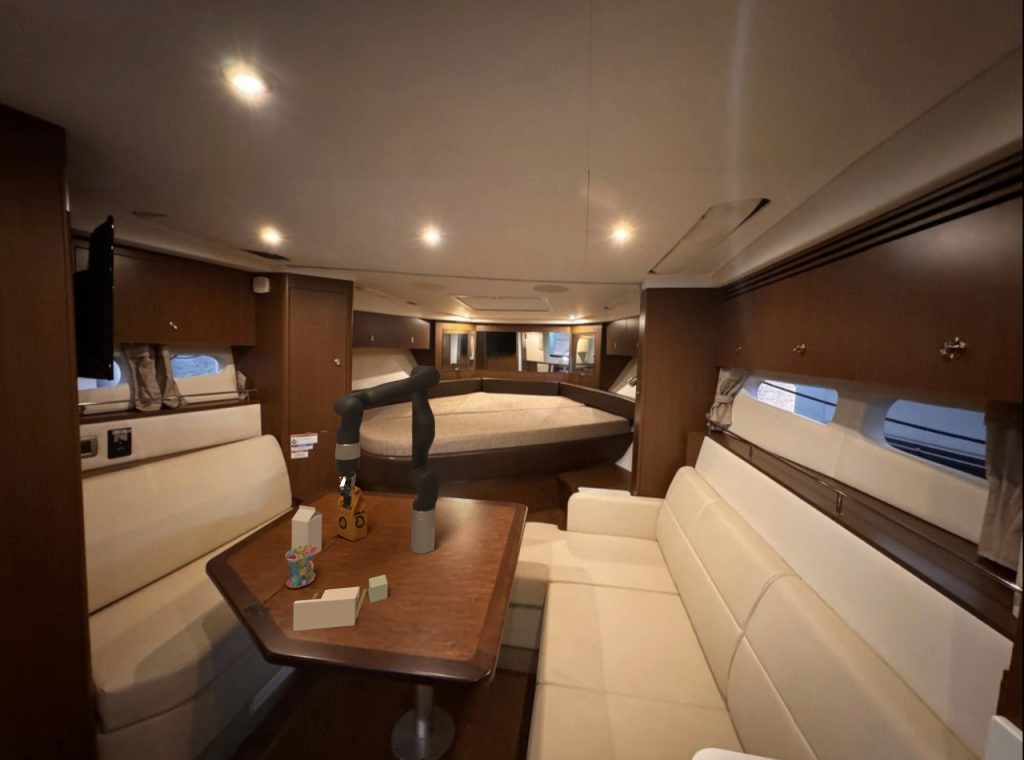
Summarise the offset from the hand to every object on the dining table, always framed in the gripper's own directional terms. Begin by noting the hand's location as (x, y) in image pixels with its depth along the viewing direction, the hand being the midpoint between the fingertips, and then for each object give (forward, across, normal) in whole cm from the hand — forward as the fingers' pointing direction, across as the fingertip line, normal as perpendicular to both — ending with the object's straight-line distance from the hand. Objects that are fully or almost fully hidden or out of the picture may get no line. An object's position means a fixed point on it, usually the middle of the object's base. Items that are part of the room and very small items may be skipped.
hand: (347, 505), depth 113 cm
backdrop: (+27, -19, 0) cm, 33 cm away
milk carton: (+27, +19, +20) cm, 39 cm away
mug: (+27, +1, +14) cm, 31 cm away
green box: (+27, -8, -12) cm, 31 cm away
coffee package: (+27, +32, +7) cm, 43 cm away
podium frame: (+27, -12, 0) cm, 29 cm away
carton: (+27, -13, -2) cm, 30 cm away
